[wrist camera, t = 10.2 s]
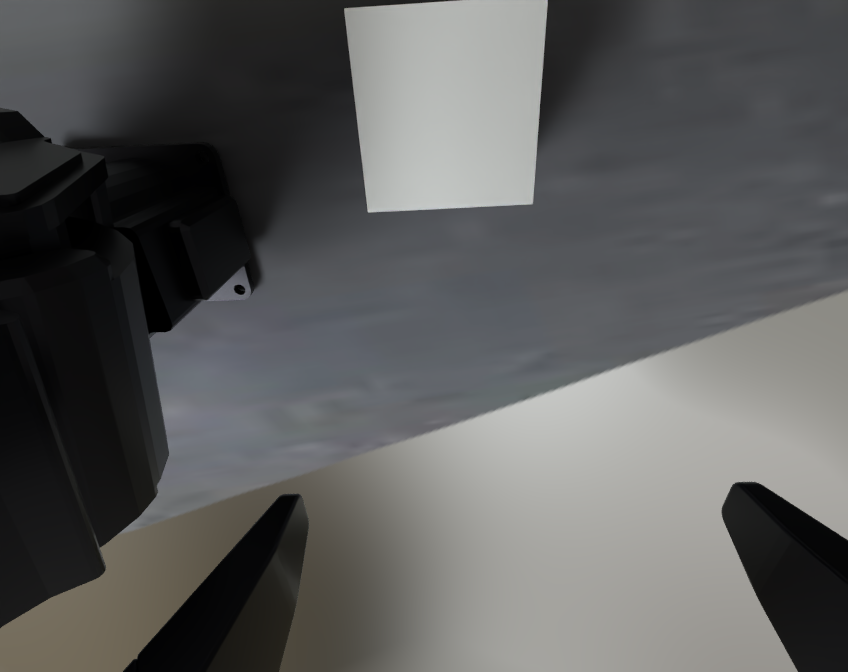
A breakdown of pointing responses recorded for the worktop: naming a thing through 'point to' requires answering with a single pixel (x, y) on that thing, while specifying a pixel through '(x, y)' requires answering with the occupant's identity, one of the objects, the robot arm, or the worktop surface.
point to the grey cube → (447, 101)
